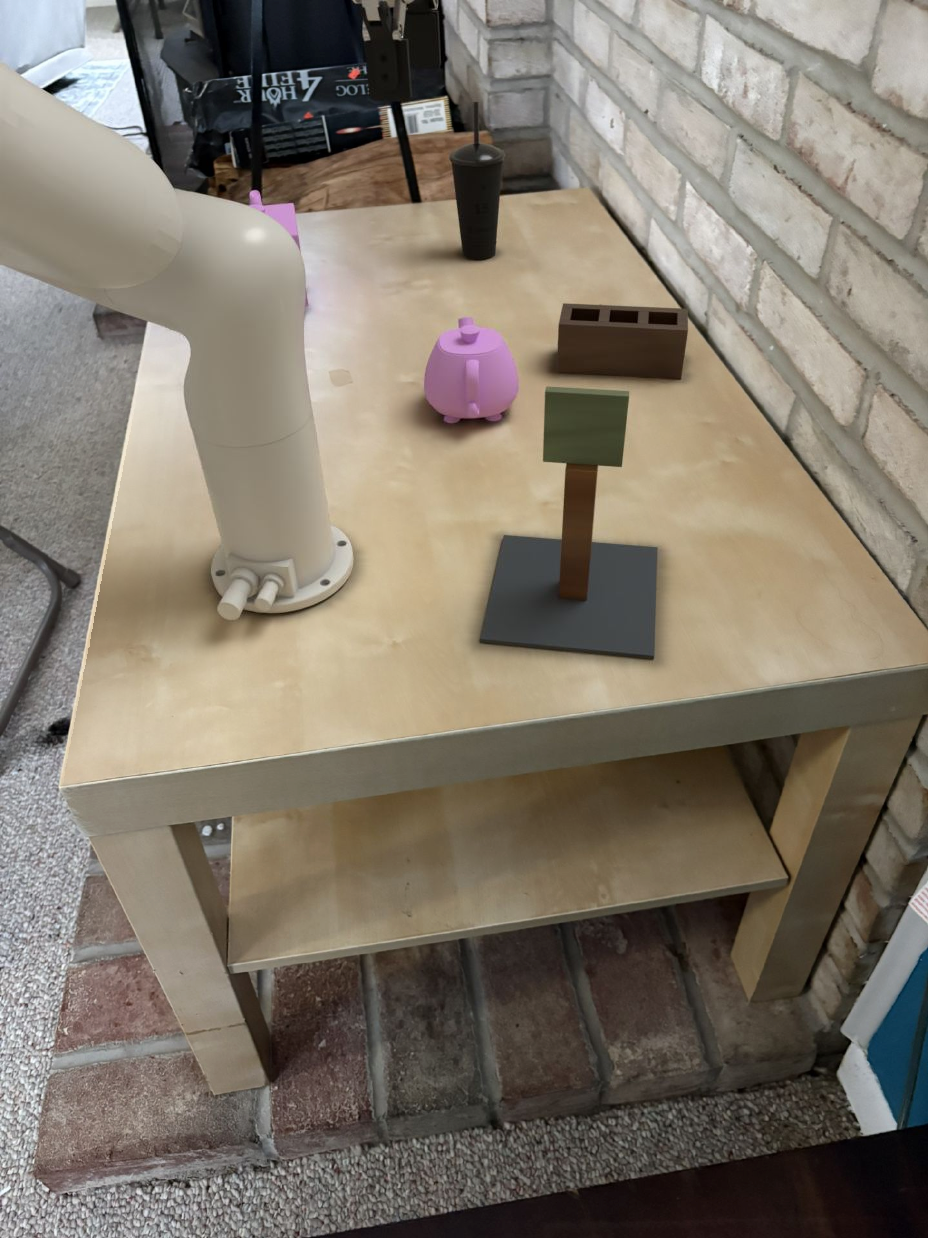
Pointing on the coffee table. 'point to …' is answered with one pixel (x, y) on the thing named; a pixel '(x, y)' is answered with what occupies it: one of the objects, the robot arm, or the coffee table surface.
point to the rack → (622, 340)
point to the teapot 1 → (279, 217)
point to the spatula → (582, 468)
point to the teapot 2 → (470, 374)
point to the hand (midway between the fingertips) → (407, 82)
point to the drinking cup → (477, 194)
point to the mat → (598, 625)
